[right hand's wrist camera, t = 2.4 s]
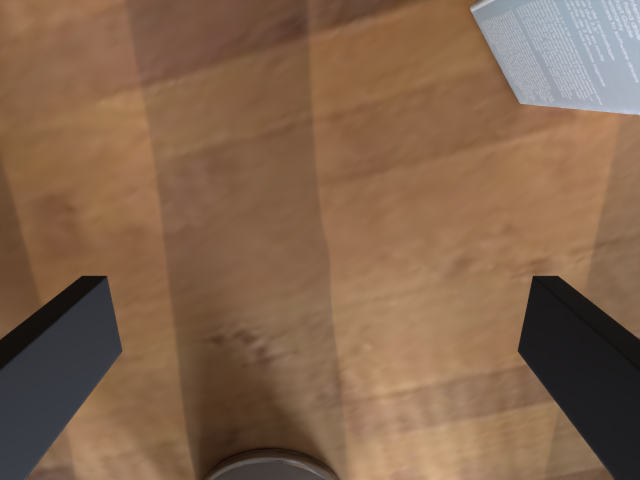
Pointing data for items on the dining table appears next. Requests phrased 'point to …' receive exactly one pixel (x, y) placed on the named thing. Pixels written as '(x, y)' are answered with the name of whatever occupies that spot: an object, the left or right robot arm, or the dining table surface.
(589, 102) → the hard drive box
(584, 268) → the dining table surface
